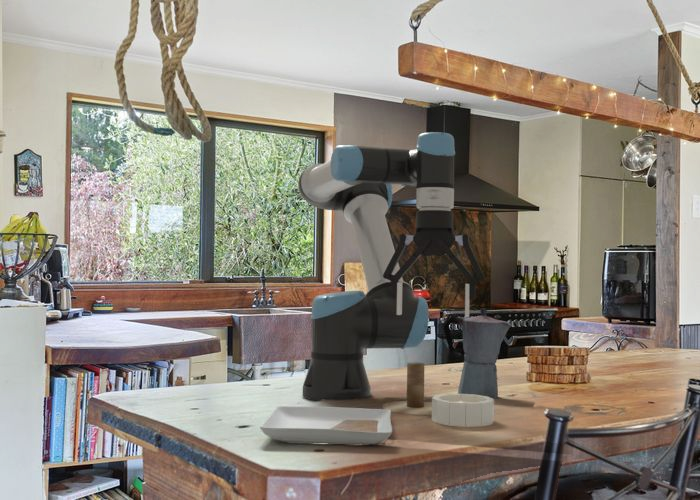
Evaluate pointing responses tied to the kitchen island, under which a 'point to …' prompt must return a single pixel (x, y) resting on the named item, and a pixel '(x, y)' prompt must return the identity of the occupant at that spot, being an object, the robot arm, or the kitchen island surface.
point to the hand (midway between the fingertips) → (432, 315)
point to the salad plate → (325, 425)
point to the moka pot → (478, 352)
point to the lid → (412, 393)
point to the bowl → (463, 410)
